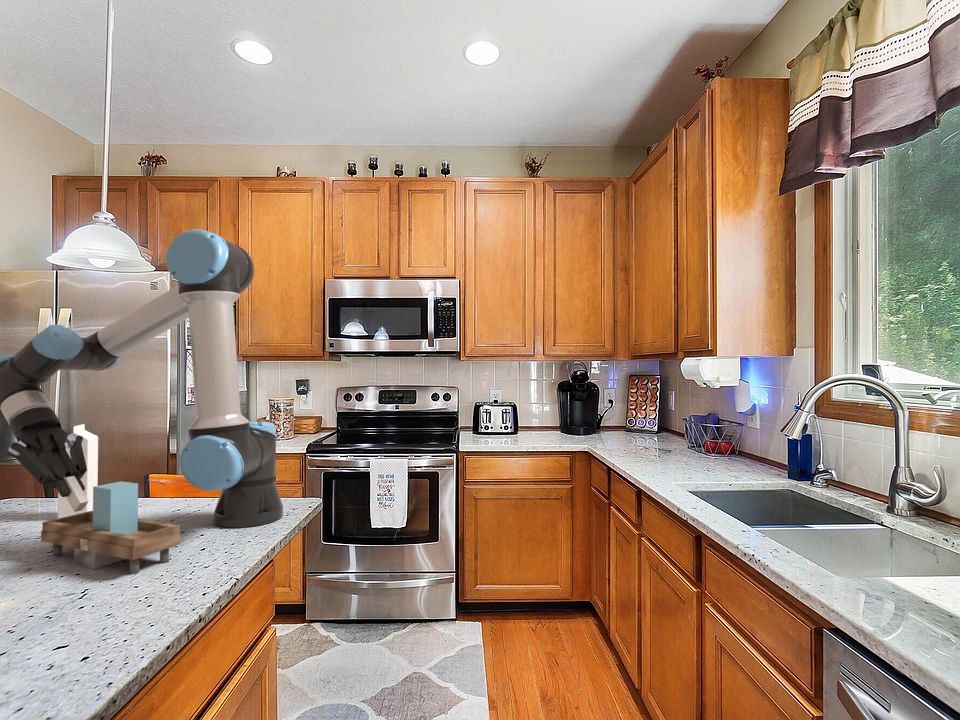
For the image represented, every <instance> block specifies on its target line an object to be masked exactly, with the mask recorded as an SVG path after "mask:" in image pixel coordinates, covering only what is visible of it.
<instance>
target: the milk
mask: <svg viewBox="0 0 960 720" xmlns="http://www.w3.org/2000/svg"><path fill="white" fill-rule="evenodd" d="M85 426H86V425H85V423H83V424H77V425H74V426H73V430H72V433H70V434H68V436H71V437H75V438H76V437H77V436H79V435H80V436H82V437H83V441H82V449H83V453H84V458H85V462H86V466H87V471H86V472H85V474H84V475H83V477H82V478H81V481H82V483H83V485H84V486H85V490H84V491H83V492H84V494H85V495H86V497H87V499H88V501H89V502H88V503H87V505H86V506H85V507H84V509H83V510H81V511H76V512H74V511H73V509H72V507H71V505H70V503H69V502H68V500H67V498H66V497H62V496H61V495H60V494H59V491H58V490H57V494H58V495H57V519H59V518H63V517H67V516H71V515H76V514H80V513H84V512H88V511H93V487H95V486H99V485H98V484H99V483H98V482H99V481H98V477H99V475H98V474H99V472H98V471H99V468H98V467H99V436H98V435H96V434H95V433H91V432H89V431H88V430H86V429H85V428H86V427H85ZM65 446H66V451H67V453H68V455H69V456H70V448H68V444H67V442H65ZM70 458H71V456H70ZM64 479H65V477H64Z"/></svg>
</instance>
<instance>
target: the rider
mask: <svg viewBox="0 0 960 720" xmlns="http://www.w3.org/2000/svg"><path fill="white" fill-rule="evenodd" d="M138 510H139V483H137V482H135V483H134V482H129V481H128V482H127V481H116V482H111V483H106V484H100V485H98V486H95V487H93V528H96V529H98V530H104V531H109V532H115V533H120V534H126V535H127V534H130V533H133V532H137V531H138V519H139V517H138V516H139V513H138V512H139V511H138Z"/></svg>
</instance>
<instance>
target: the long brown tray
mask: <svg viewBox="0 0 960 720" xmlns="http://www.w3.org/2000/svg"><path fill="white" fill-rule="evenodd" d="M180 528H181V527H180V525H178V524H173V523H166V522H161V521H157V520H156V521H155V520H148V519H142V518H138V531H137V532H133V533H130V534H127V535H126V534H120V533H115V532H109V531H104V530H98V529H96V528H93V511H88V512H84V513H80V514H76V515H71V516H67V517H63V518H59V519H58V518H55V519H51V520H46V521H42V529H41V531H40V535H41V536H40V541H41V542H43V543H50V544H52V557H53V556H57V557H61V556H63V547H66V548H72V549H73V565H74V564H76V565H75V566H78V565H80V567H83V566H84V568H87V567H88V568H89V569H93V570H96V569H100V568H103V567H106V566H109V565H112V564H114V563H117V562H118V563H119V562H120V561H121V562H122V561H123V560H129V575H135V574H138V572H139V573H140V558H144V557H146V556H148V555H149V556H150V555H153V554H155V553H158V552H159V563H160V564H165V563H168V562H170V548H173V547H176V546H178V545H181V541H182V540H181V534H182V533H181V529H180ZM60 555H61V556H60ZM102 566H103V567H102ZM88 568H87V569H88Z"/></svg>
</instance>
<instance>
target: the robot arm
mask: <svg viewBox="0 0 960 720" xmlns="http://www.w3.org/2000/svg"><path fill="white" fill-rule="evenodd" d="M165 265H166V268H167V270H168V272H169V273H170V275H171V276H172V277H173V278H174V279H175V280H176V281H177V283H178V284H177V285H176V286H174V287H173V288H171V289H169V290H167V291H166V292H164V293H162V294H160V295H159V296H157V297H155V298H152V300H151V299H150V301H148V302H145V303H144V304H143V305H141V306H139V307H137V308H136V309H134V310H132V311H131V312H129V313H127V314H125V315H123V316H122V317H120V318H119V319H117V320H115V321H113V322H111V323H109V324H108V325H106V326H104V327H103V328H100V330H97V331H96V332H94V333H92V334H90V335H89V336H87V337H81V336H80V335H79V334H78V333H77V332H75V331H74V330H73V329H71V328H70V327H65V326H64V325H61V324H51V325H48V326H46V328H44V329H43V330H42V331H40V332H39V333H37V334H36V335H34V336H33V338H32V339H31V340H30V341H29V342H27V343H26V344H25V346H23V347H22V348H20V350H19V351H18V352H17V353H16V354H2V355H0V411H1V413H2V415H3V417H4V418H5V420H6V422H7V424H8V426H9V428H10V429H11V432H12V434H13V436H14V437H15V440H16V442H12V443H11V445H10V446H9V448H8V449H7V451H6V454H7V455H8V456H11V457H12V458H14V459H15V460H17V461H18V462H19V463H20V465H22V466H23V467H24V468H25V469H26V470H27V472H29V474H30V475H31V476H32V477H33V478H34V479H35V480H36V481H37V482H38V483H39V484H40V485H41V486H47V485H50V488H51V489H57V492H58V491H59V494H60V495H61V496H62V497H66V498H67V500H68V502H69V503H70V505H71V507H72V509H73V511H74V512H76V511H81V510H83V509H84V507H85V506H86V505H87V503H88V502H89V501H88V499H87V497H86V495H85V494H84V492H83V491H84V490H85V486H84V485H83V483H82V481H81V478H82V477H83V475H84V474H85V472H86V471H87V466H86V462H85V458H84V453H83V449H82V441H83V437H82V436H80V435H79V436H77V437H76V438H75V437H71V436H68V435H69V434H68V432H67V431H65V430H64V429H63V428H62V425H61V421H60V418H58V416H57V414H56V412H55V410H54V409H53V406H52V405H51V403H50V401H49V400H48V398H47V397H46V395H45V394H44V391H43V390H42V388H41V386H42V385H43V384H44V383H45V382H47V381H48V380H49V379H50V378H52V377H53V376H54V375H55V374H56V373H57V372H59V371H96V372H97V371H98V372H100V371H104V370H108V369H109V370H110V369H114V368H115V367H116V366H117V365H118V364H119V363H120V360H121V359H122V357H123V356H124V355H127V354H128V353H130V352H131V351H133V350H135V349H137V348H138V347H140V346H142V345H144V344H145V343H147V342H149V341H150V340H153V339H154V338H156V337H157V336H159V335H162V334H163V333H165V332H167V331H168V330H170V329H172V328H174V327H176V326H178V325H179V324H181V323H182V322H184V321H186V320H188V321H189V322H188V323H189V333H190V334H189V335H190V337H189V338H190V350H191V351H190V352H191V353H190V354H191V364H192V366H191V367H192V379H193V394H194V409H195V410H194V411H195V419H194V420H193V422H192V423H190V425H189V426H188V430H187V431H188V440H189V441H188V443H186V445H185V446H184V448H182V451H181V453H180V455H179V456H180V457H179V466H180V467H179V468H180V471H181V474H182V475H183V477H184V479H185V480H186V481H187V482H188V483H189V484H191V485H192V486H193V487H195V488H196V489H198V490H201V491H206V492H217V491H220V494H219V496H218V500H217V502H216V506H215V508H214V511H213V524H214V525H216V526H218V527H224V528H248V527H250V528H251V527H257V526H261V525H266V524H270V523H273V522H275V521H278V520H280V519H282V517H283V516H284V504H283V502H282V499H281V496H280V493H279V491H278V487H277V484H276V475H277V474H276V471H277V470H276V467H277V466H276V465H277V463H276V462H277V461H276V460H277V459H276V458H277V457H276V456H277V455H276V454H277V453H276V452H277V437H278V436H277V434H276V426H275V424H274V423H273V422H270V421H250V420H249V419H248V418H247V417H245V416H244V415H243V414H242V412H241V398H240V397H241V396H240V384H239V372H238V371H239V369H238V356H237V355H238V354H237V342H236V326H235V313H234V304H235V302H236V301H238V299H239V298H240V297H241V293H243V292H245V291H246V289H247V288H249V287H250V285H251V283H252V282H253V279H254V277H255V276H254V275H255V266H254V262H253V259H252V257H251V255H250V254H249V253H248V252H247V251H246V250H245V249H244V248H243V247H241V245H240V246H239V245H238V244H235V243H233V242H231V241H229V240H227V239H225V238H223V237H222V236H220V234H217V233H215V232H212V231H208V230H205V229H200V228H199V229H198V228H197V229H196V228H195V229H189V230H185V231H183V232H181V233H180V234H178V235H177V236H176V237H175V238H174V239H173V240H172V241H171V242H170V243H169V245H168V247H167V249H166V252H165ZM65 442H67V444H68V448H70V456H71V458H70V456H69V455H68V453H67V451H66V446H65ZM64 477H65V479H64Z"/></svg>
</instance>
